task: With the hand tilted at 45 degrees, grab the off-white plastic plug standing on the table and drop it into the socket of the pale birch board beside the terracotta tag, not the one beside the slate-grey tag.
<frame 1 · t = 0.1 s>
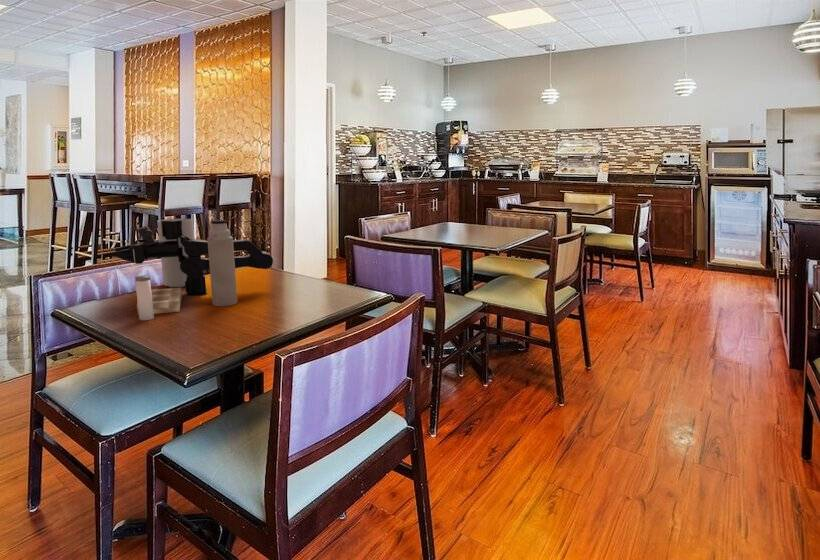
hand: (113, 252, 185), 17 cm above the table, tool horizontal, fingers open, 9 cm apart
plug: (146, 318, 165), on the table
thermos bottle: (225, 303, 183), on the table
cylinder vase: (181, 284, 211), on the table
socket board: (161, 305, 179), on the table
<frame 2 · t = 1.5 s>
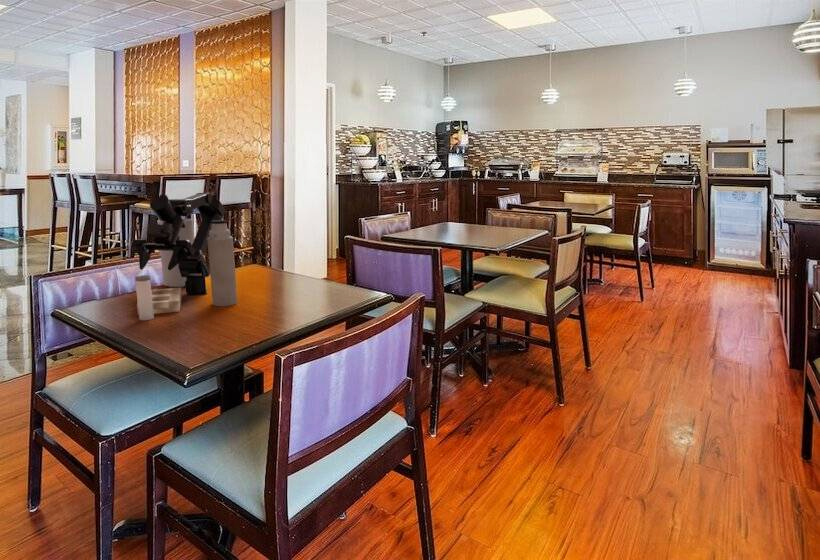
hand: (154, 269, 169), 14 cm above the table, tool tilted 45°, fingers open, 9 cm apart
nothing on the table moved.
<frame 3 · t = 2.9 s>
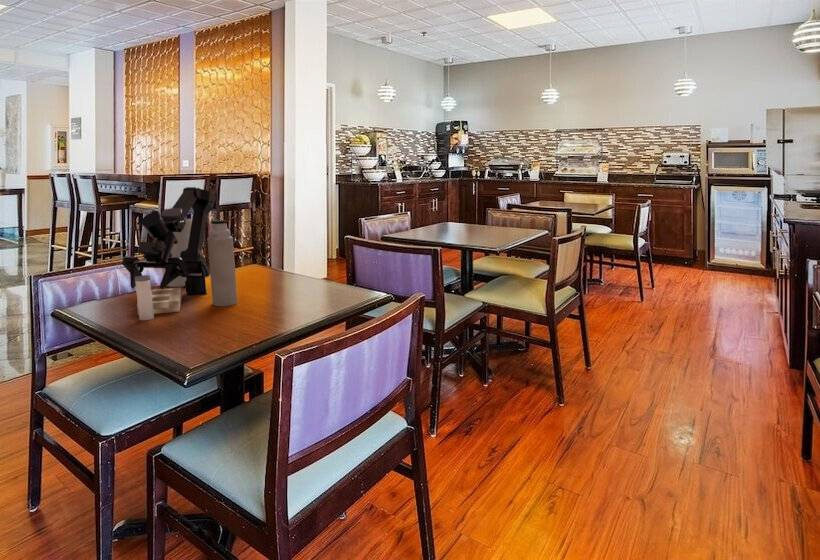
hand: (146, 288, 164), 9 cm above the table, tool tilted 45°, fingers open, 9 cm apart
nothing on the table moved.
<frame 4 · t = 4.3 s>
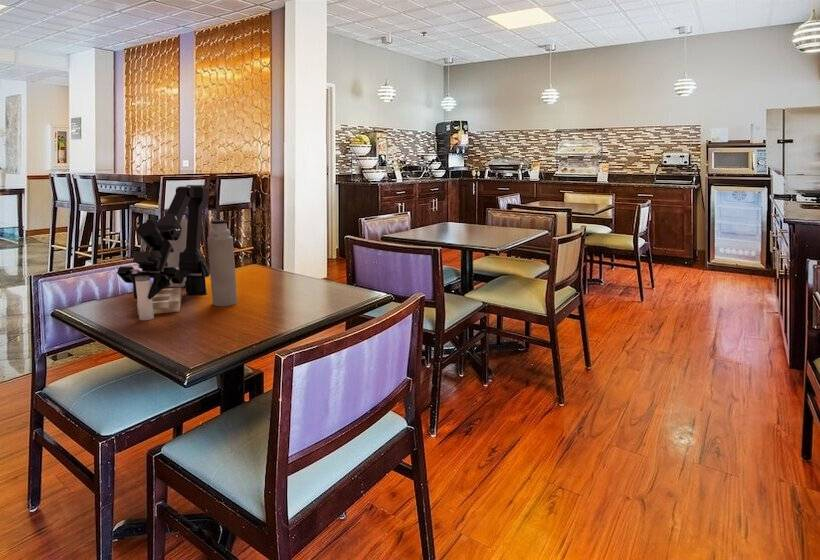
hand: (142, 298, 162), 7 cm above the table, tool tilted 45°, fingers closed on plug, 4 cm apart
plug: (146, 318, 165), on the table, touching gripper
everything else where it was.
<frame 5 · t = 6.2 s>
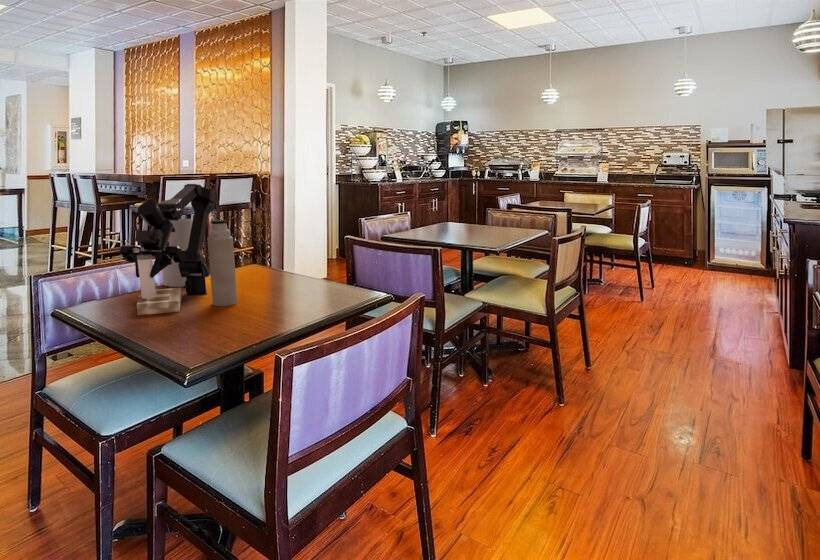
hand: (144, 277, 163), 13 cm above the table, tool tilted 45°, fingers closed on plug, 4 cm apart
plug: (149, 296, 166), point 6 cm above the table, touching gripper
everything else where it was.
when the fingers open (8 cm above the table, at t = 8.3 s): plug drops 1 cm, resting in socket board.
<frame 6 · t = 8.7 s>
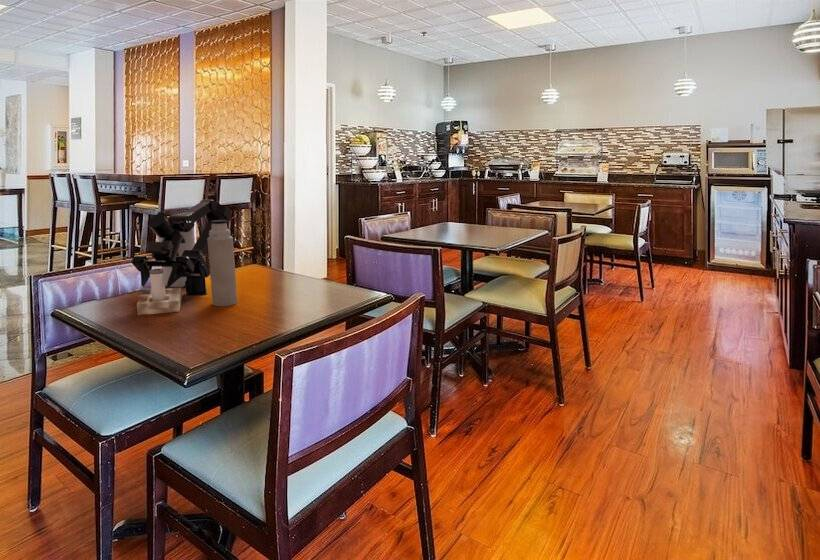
hand: (155, 286, 172), 8 cm above the table, tool tilted 45°, fingers open, 8 cm apart
plug: (160, 309, 175), resting in socket board
everything else where it was.
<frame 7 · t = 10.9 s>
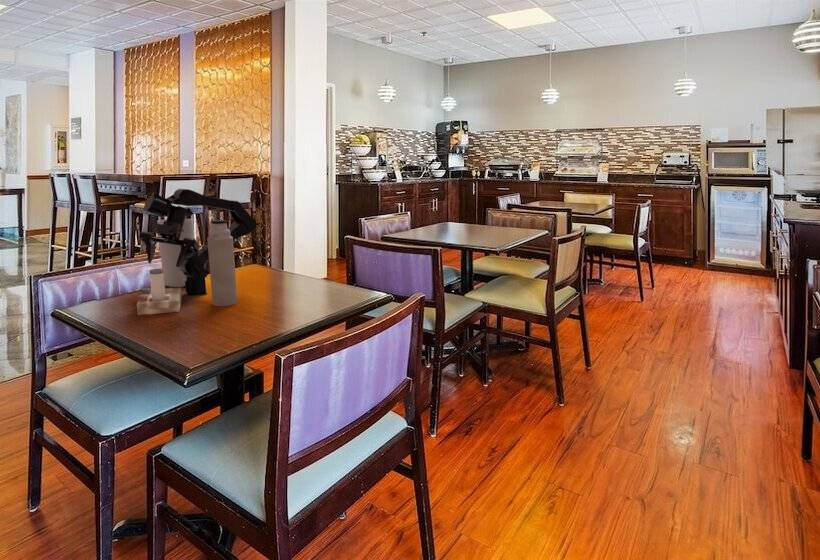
hand: (163, 264, 182), 13 cm above the table, tool tilted 30°, fingers open, 9 cm apart
nothing on the table moved.
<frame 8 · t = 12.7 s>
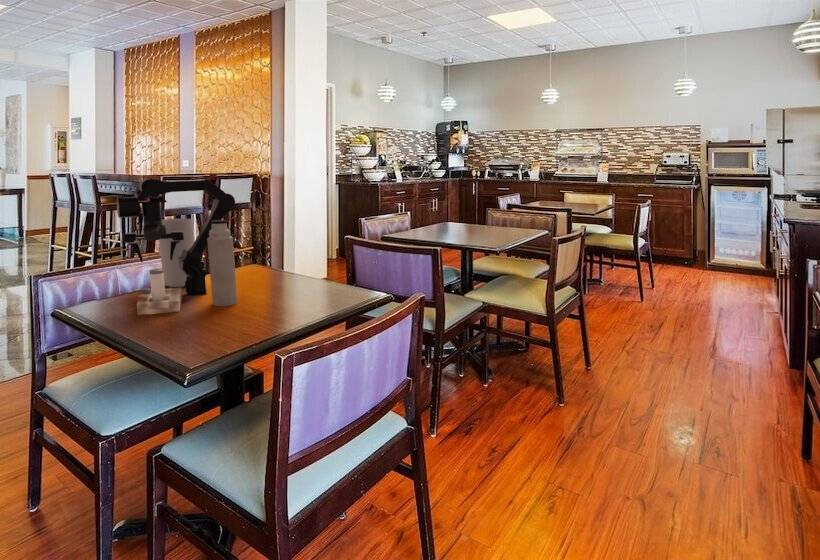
hand: (156, 261, 187), 13 cm above the table, tool pointing down, fingers open, 9 cm apart
nothing on the table moved.
at the end: plug 0.0 cm from the target spot on the socket board, point 0.0 cm above the socket board's base; plug tilted 0°; the gripper is holding nothing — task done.
